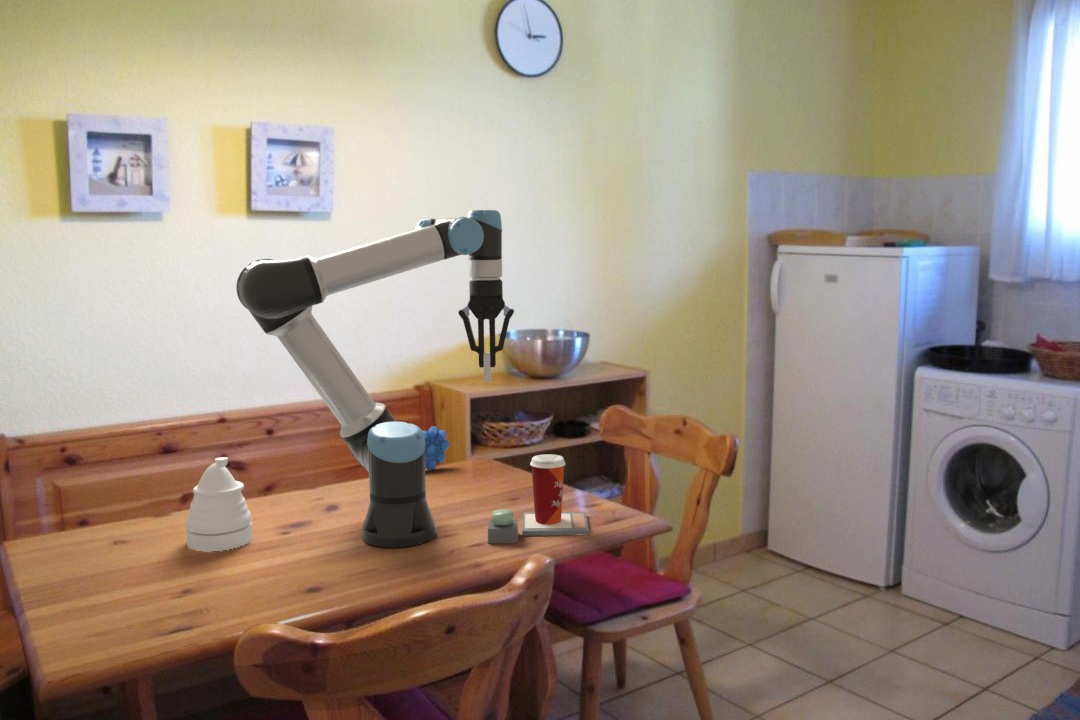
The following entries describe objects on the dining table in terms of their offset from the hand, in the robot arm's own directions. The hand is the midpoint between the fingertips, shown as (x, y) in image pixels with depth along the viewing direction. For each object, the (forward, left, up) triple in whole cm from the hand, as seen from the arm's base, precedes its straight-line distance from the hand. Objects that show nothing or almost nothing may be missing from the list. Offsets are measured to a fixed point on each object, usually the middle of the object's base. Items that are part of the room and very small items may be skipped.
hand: (487, 381), depth 208 cm
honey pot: (-55, -24, -30) cm, 67 cm away
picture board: (+15, -16, -29) cm, 37 cm away
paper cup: (+13, -16, -29) cm, 35 cm away
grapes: (-18, +33, -30) cm, 48 cm away
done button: (+4, -24, -26) cm, 36 cm away
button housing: (+4, -24, -29) cm, 38 cm away
